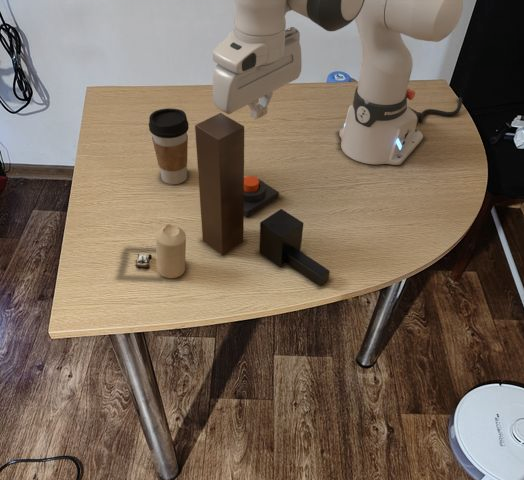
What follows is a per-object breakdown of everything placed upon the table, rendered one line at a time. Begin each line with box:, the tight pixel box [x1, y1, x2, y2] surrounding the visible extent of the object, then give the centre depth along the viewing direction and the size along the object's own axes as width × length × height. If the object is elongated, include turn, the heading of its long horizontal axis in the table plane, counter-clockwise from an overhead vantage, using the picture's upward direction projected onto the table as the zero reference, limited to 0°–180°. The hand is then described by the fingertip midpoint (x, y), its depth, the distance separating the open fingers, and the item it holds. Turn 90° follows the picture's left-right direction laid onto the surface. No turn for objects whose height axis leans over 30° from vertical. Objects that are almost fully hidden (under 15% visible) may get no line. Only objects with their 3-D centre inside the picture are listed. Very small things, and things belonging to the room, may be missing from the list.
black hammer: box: [258, 208, 331, 287], centre depth 108 cm, size 6×15×8 cm, turn 46°
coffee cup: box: [148, 108, 190, 185], centre depth 122 cm, size 8×8×15 cm
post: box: [194, 112, 245, 256], centre depth 105 cm, size 6×6×26 cm
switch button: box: [244, 175, 259, 192], centre depth 120 cm, size 4×4×2 cm
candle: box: [155, 223, 187, 279], centre depth 105 cm, size 6×6×10 cm
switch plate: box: [244, 178, 280, 218], centre depth 122 cm, size 10×8×4 cm
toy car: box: [134, 252, 153, 269], centre depth 109 cm, size 3×4×2 cm, turn 178°
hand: (258, 115), depth 108 cm, fingers closed
